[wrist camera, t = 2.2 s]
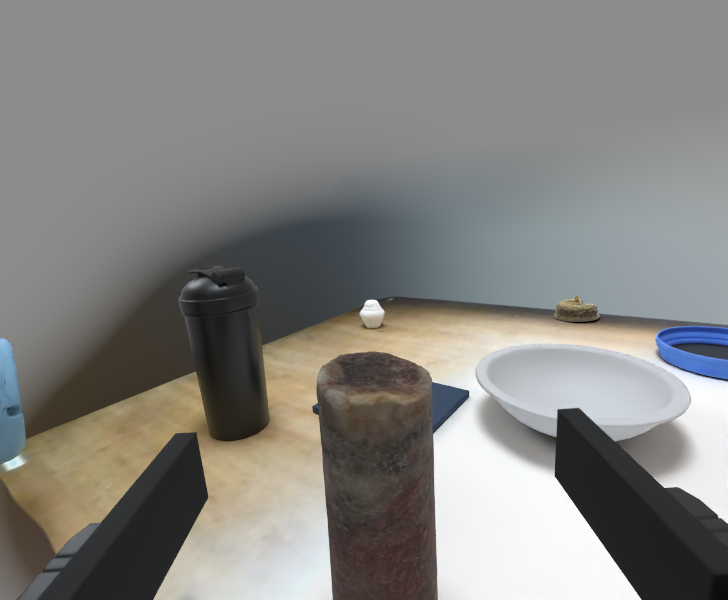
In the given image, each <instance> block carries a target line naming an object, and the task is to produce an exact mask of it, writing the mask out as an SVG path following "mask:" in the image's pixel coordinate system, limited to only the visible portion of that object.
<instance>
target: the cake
mask: <svg viewBox="0 0 728 600" xmlns="http://www.w3.org/2000/svg"><path fill="white" fill-rule="evenodd" d="M576 298H577V299H576ZM555 310H556V313H555V314H554V317H555V318H556V319H559V320H562V321H571V322H584V321H591V320H596V319H598V318H600V315H599V314H597V313H598V310H597V307H596V306H595V305H592V304H587V305H583V301H582V300H579V297H578V296H576V297H575V299H568V300H564V301H560V302H558V305H557V306H556V308H555Z"/></svg>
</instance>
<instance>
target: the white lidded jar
mask: <svg viewBox="0 0 728 600" xmlns="http://www.w3.org/2000/svg"><path fill="white" fill-rule="evenodd" d="M384 314H385V312H384V310H383V309H382V308H381V307H380V306H379V303H378V302H377V301H376V300H369V301H366V302H365V306H364V308H363V309H362V310H361V312H360V316H361V317H362V320H363V322H364V323H365V325H366V327H367V328H378V327H379V326H380V324H381V322H382V320H383V317H384Z"/></svg>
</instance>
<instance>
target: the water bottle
mask: <svg viewBox="0 0 728 600" xmlns="http://www.w3.org/2000/svg"><path fill="white" fill-rule="evenodd" d="M188 272H189V273H196V279H194V280H193V281H191V282H189V283H188V284H187V285H186V286H185V287H184V288H183V290H182V293H181V296H180V297H179V298H178V300H179V306H180V311H181V312H182V315H184V317H185V321H186V326H187V330H188V335H189V340H190V344H191V349H192V354H193V359H194V363H195V368H196V372H197V377H198V382H199V386H200V391H201V396H202V400H203V405H204V410H205V414H206V419H207V424H208V428H209V433H210V435H211V436H212V437H213V438H215V439H218V440H224V441H231V440H239V439H243V438H246V437H249V436H252V435H254V434H256V433H258V432H259V431H261V430H262V429H264V428H265V427H266V425H267V424H268V422H269V409H268V400H267V390H266V381H265V371H264V362H263V352H262V343H261V334H260V324H259V314H258V304H259V292H258V288H257V287H256V286H254V284H253V282H252V281H251V280H250V279H248V278H247V277H245V274H244V272H243V270H242V269H241V268H232V269H225V268H223V266H212V267H206V268H201V269H195V270H190V271H188Z"/></svg>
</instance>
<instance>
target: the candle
mask: <svg viewBox="0 0 728 600" xmlns="http://www.w3.org/2000/svg"><path fill="white" fill-rule="evenodd" d="M317 399H318V407H319V421H320V433H321V444H322V454H323V472H324V482H325V496H326V508H327V516H328V533H329V546H330V563H331V577H332V593H333V600H438V594H437V560H436V530H435V496H434V450H433V432H432V378H431V377H430V374H429V372H428V371H427V370H426V369H424V368H423V367H421V366H419V365H416V364H415V363H413V362H411V361H408V360H405V359H402V358H399V357H396V356H393V355H391V354H388V353H380V352H366V353H354V354H345V355H339V356H338V357H337V358H335V359H333V360H331V361H330V362H329V363H327V364H326V365H324V366H322V368H321V369H320V371H319V373H318V377H317Z"/></svg>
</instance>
